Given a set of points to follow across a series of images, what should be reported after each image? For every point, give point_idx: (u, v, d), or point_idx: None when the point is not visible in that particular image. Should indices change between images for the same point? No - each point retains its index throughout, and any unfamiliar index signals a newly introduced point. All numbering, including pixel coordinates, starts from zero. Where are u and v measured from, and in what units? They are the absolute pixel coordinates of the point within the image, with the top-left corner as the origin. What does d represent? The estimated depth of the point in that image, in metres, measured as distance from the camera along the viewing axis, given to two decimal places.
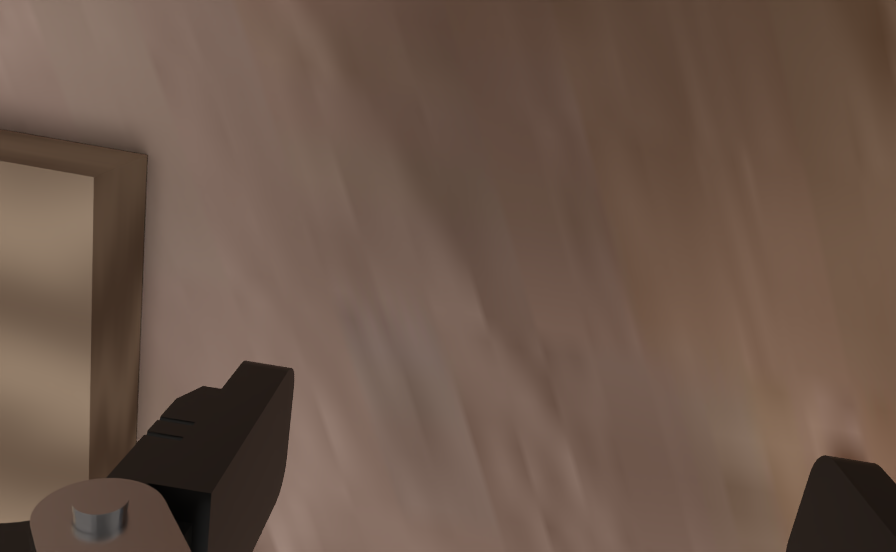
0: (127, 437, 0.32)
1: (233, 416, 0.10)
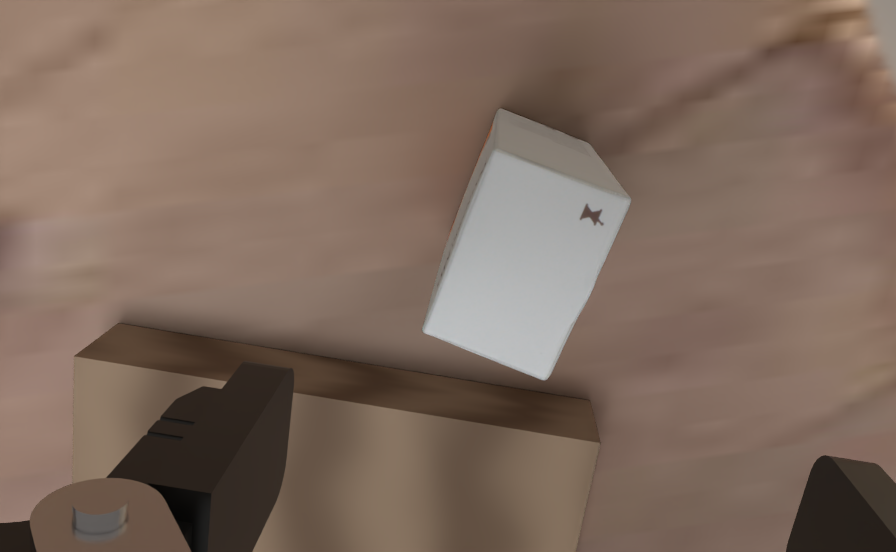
0: None
1: (233, 416, 0.10)
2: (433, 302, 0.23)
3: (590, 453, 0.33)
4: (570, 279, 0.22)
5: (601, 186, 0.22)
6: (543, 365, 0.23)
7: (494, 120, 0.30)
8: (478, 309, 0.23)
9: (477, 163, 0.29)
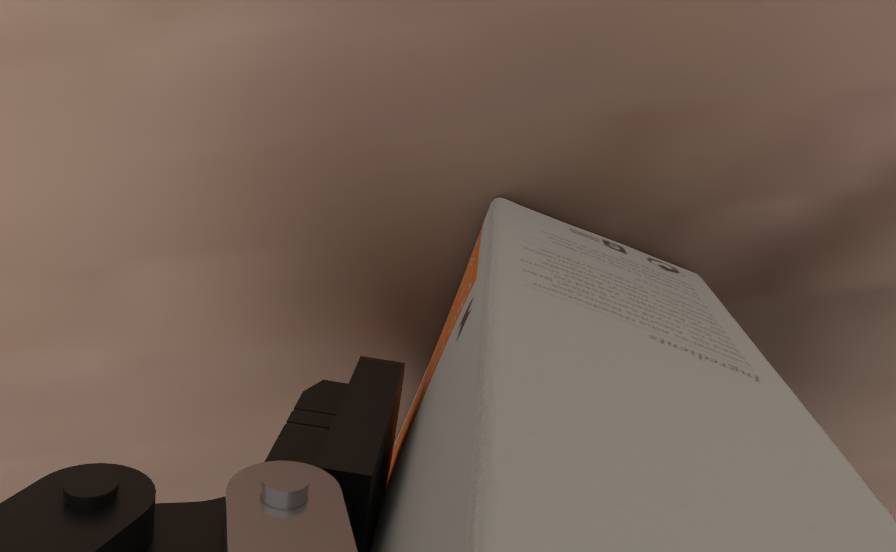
0: None
1: (368, 407, 0.11)
2: None
3: None
4: None
5: None
6: None
7: (483, 242, 0.12)
8: None
9: (436, 381, 0.11)
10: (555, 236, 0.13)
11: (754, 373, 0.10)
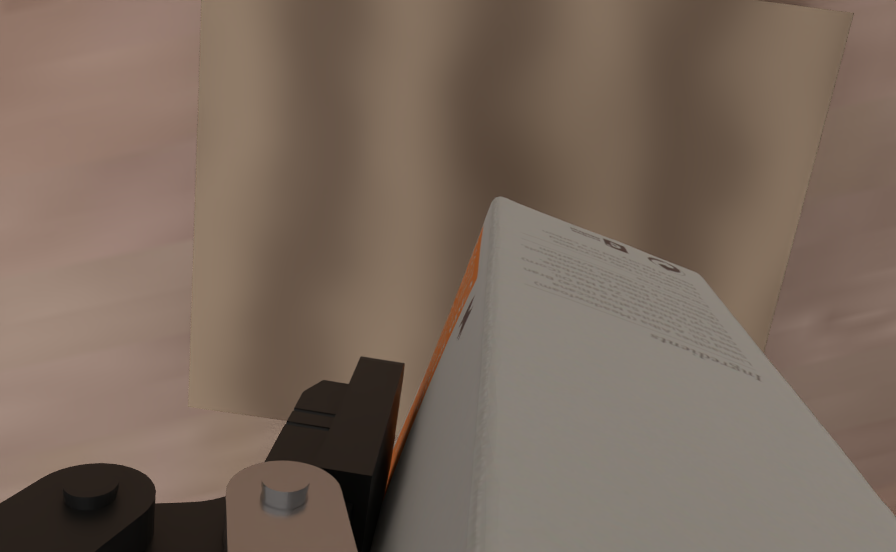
0: None
1: (368, 407, 0.11)
2: None
3: (840, 28, 0.27)
4: None
5: None
6: None
7: (484, 241, 0.12)
8: None
9: (437, 380, 0.11)
10: (556, 235, 0.13)
11: (755, 372, 0.10)
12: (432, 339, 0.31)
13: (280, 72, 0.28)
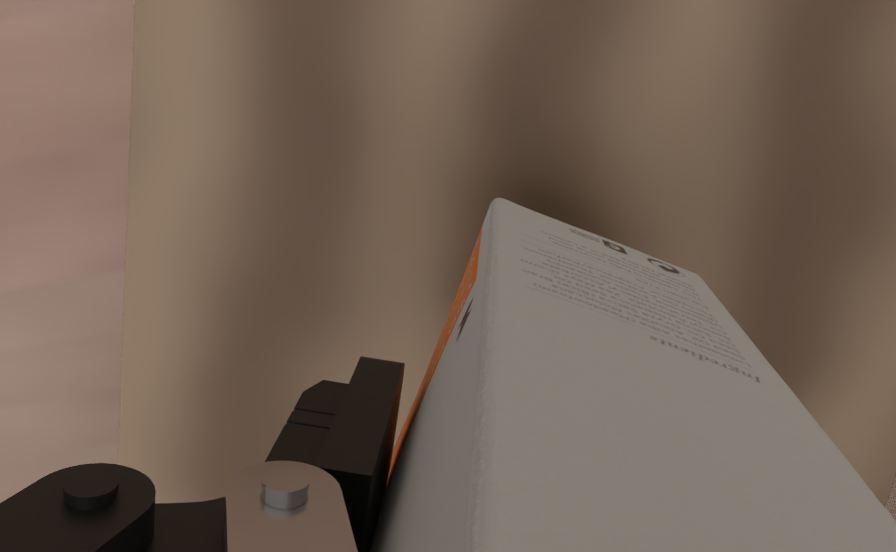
0: None
1: (368, 407, 0.11)
2: None
3: None
4: None
5: None
6: None
7: (483, 242, 0.12)
8: None
9: (436, 381, 0.10)
10: (555, 236, 0.13)
11: (755, 374, 0.10)
12: None
13: (247, 48, 0.20)
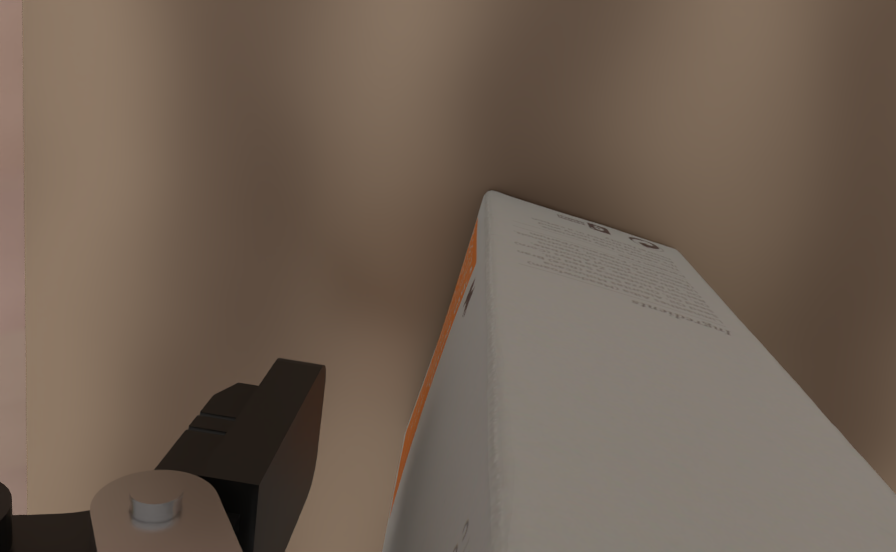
0: None
1: (273, 411, 0.10)
2: None
3: None
4: None
5: None
6: None
7: (480, 230, 0.14)
8: None
9: (447, 354, 0.12)
10: (544, 221, 0.14)
11: (726, 328, 0.11)
12: None
13: (165, 65, 0.16)
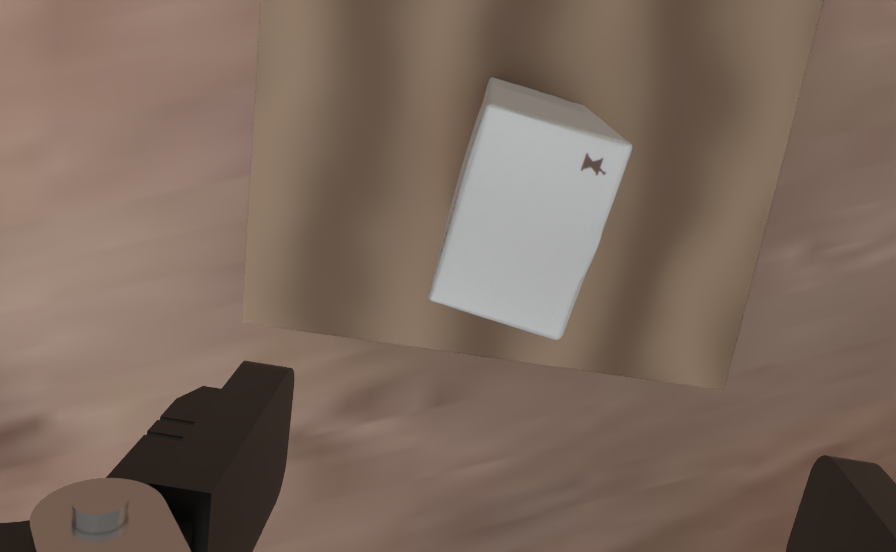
0: None
1: (233, 416, 0.10)
2: (438, 268, 0.22)
3: None
4: (575, 233, 0.22)
5: (600, 134, 0.21)
6: (555, 324, 0.23)
7: (486, 88, 0.30)
8: (484, 272, 0.22)
9: None
10: (516, 86, 0.31)
11: (586, 113, 0.27)
12: None
13: (331, 18, 0.32)
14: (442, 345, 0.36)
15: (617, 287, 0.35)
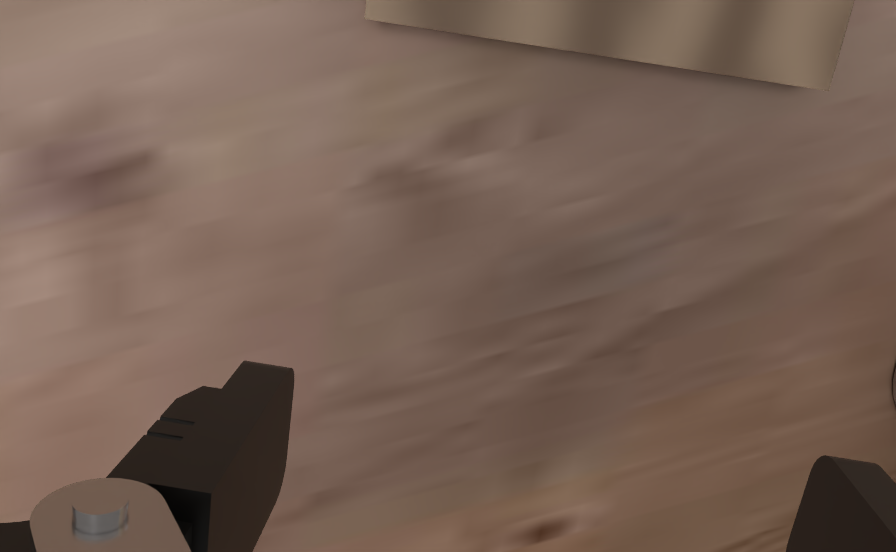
0: None
1: (233, 416, 0.10)
2: None
3: None
4: None
5: None
6: None
7: None
8: None
9: None
10: None
11: None
12: None
13: None
14: (557, 43, 0.37)
15: None
